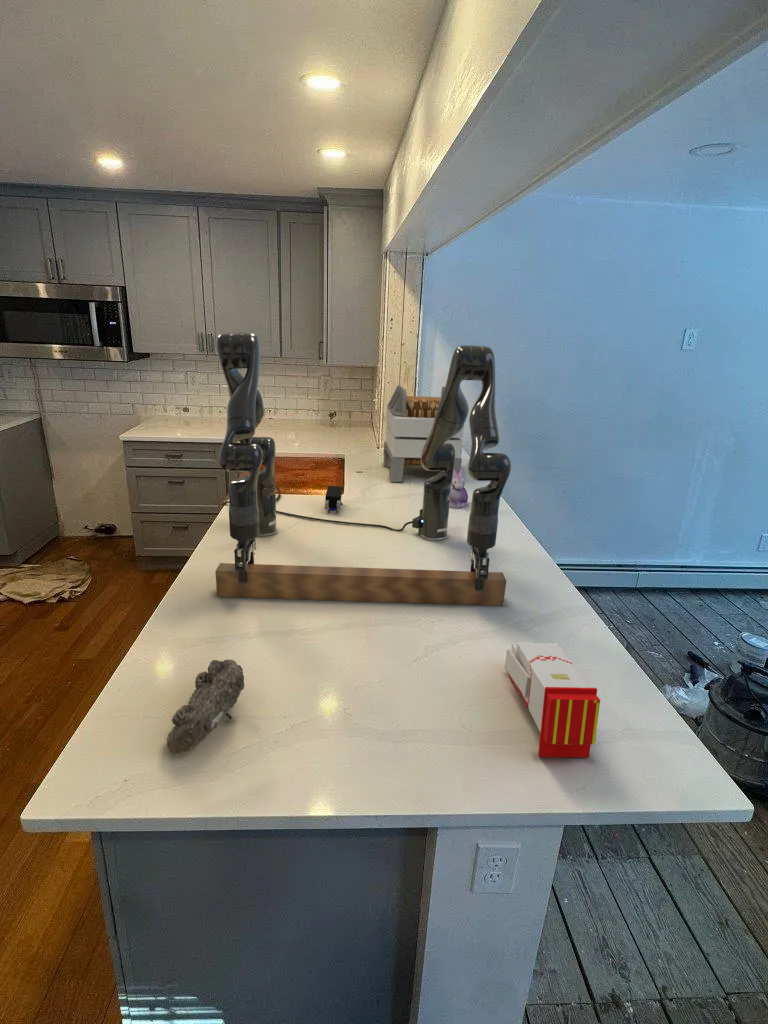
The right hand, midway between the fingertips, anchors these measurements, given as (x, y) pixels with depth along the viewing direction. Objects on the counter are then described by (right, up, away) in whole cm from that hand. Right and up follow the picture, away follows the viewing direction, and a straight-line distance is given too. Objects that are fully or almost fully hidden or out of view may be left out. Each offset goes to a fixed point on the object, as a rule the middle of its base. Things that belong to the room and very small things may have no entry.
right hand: (476, 582), depth 154 cm
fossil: (-58, -20, -46) cm, 76 cm away
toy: (+7, -20, -39) cm, 45 cm away
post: (-31, -4, +1) cm, 32 cm away
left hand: (-62, +2, -2) cm, 62 cm away
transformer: (-8, +38, +121) cm, 127 cm away
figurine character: (-45, +20, +67) cm, 83 cm away
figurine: (+5, +22, +79) cm, 82 cm away
